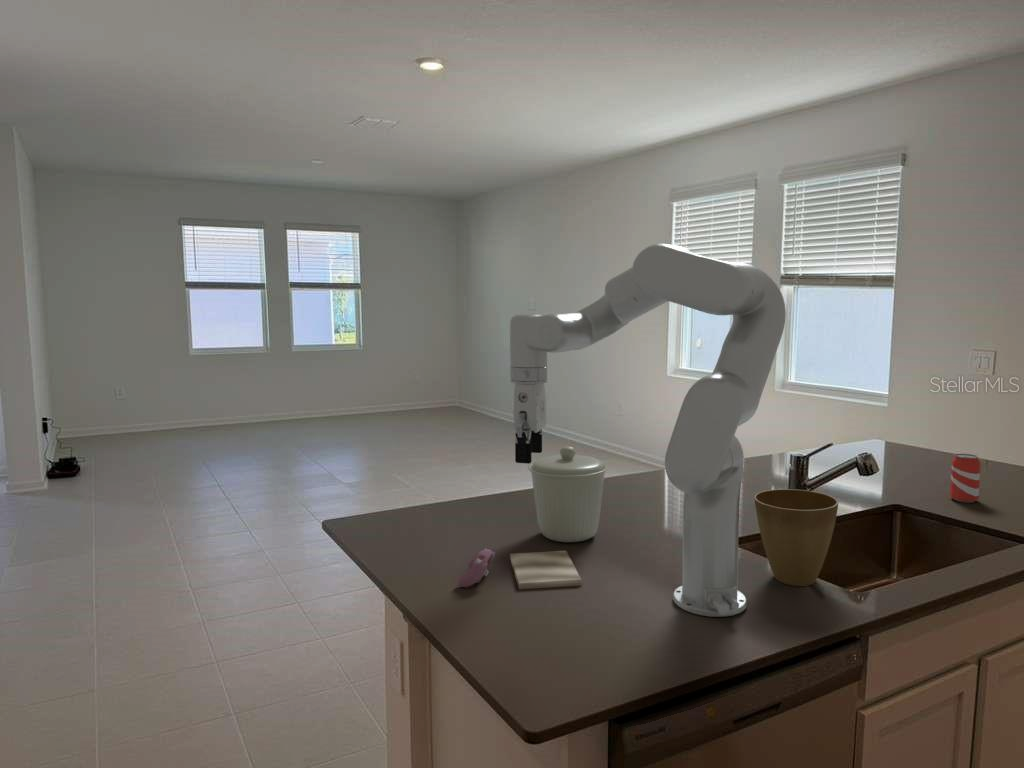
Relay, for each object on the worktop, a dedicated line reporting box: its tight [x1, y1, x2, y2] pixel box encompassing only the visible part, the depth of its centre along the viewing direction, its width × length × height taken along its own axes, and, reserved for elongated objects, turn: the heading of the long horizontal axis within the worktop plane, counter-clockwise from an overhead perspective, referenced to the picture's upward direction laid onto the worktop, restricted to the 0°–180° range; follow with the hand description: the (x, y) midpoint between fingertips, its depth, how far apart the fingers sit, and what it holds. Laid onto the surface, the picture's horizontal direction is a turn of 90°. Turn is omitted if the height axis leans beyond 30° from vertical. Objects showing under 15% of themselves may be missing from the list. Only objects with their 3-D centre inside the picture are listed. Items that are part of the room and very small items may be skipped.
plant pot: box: [753, 488, 839, 587], centre depth 136 cm, size 15×15×16 cm
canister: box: [528, 445, 608, 543], centre depth 163 cm, size 18×18×21 cm
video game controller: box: [457, 548, 496, 588], centre depth 139 cm, size 10×5×7 cm, turn 169°
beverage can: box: [949, 453, 982, 504], centre depth 186 cm, size 6×6×12 cm
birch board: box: [509, 550, 582, 590], centre depth 142 cm, size 16×12×1 cm
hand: (529, 457), depth 146 cm, fingers open, 9 cm apart
